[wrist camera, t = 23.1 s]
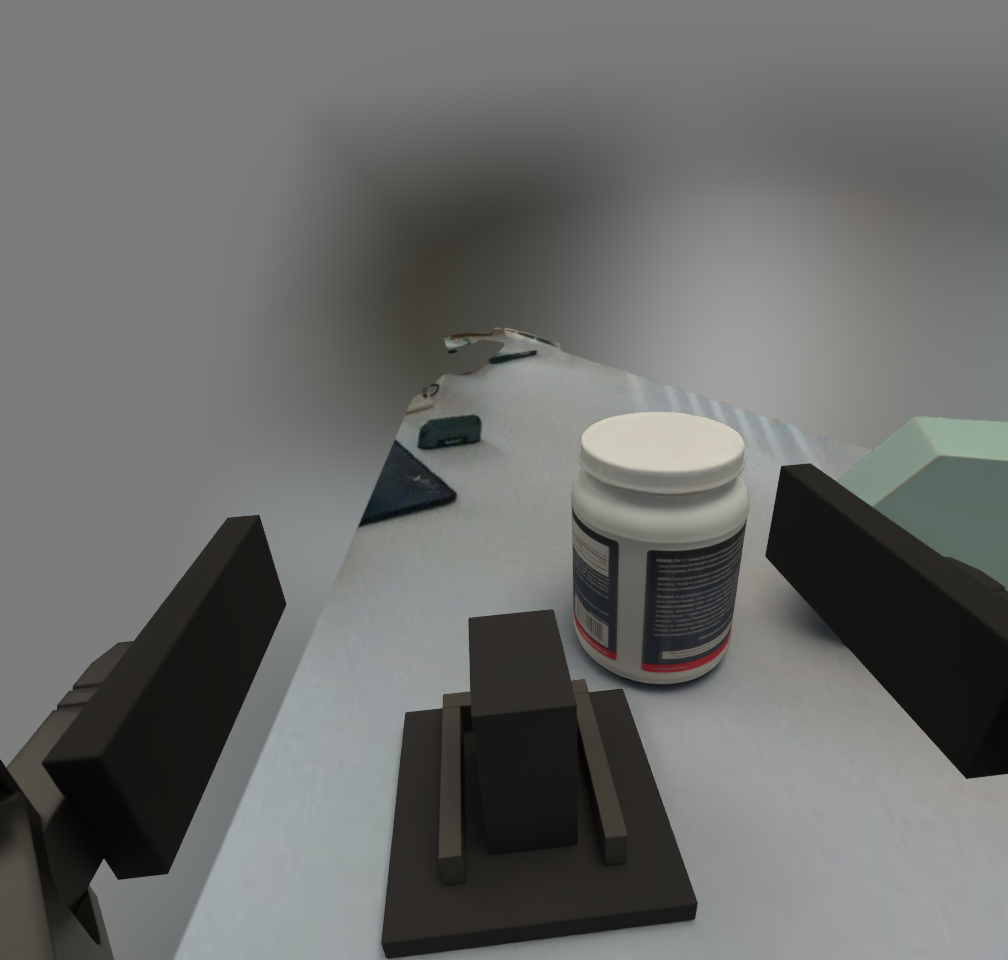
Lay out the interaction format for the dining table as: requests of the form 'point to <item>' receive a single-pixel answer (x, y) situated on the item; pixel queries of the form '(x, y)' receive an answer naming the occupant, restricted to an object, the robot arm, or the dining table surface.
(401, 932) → the base pad
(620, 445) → the supplement tub
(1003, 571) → the green hexagonal block
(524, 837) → the tall dark brick
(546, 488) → the dining table surface
